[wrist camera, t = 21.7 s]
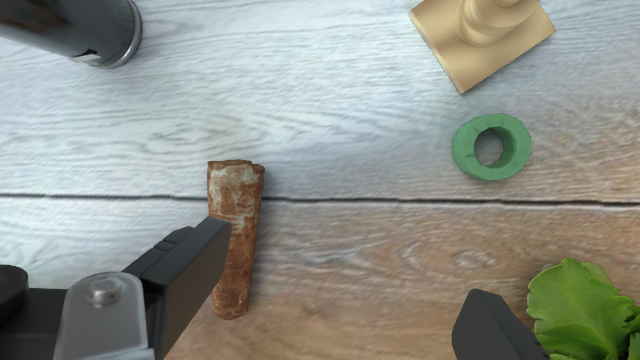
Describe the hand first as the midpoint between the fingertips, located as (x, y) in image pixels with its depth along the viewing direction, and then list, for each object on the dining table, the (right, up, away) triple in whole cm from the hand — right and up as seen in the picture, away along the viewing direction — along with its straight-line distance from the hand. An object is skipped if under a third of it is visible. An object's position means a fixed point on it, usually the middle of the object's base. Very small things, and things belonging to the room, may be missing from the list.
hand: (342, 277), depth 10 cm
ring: (+17, +7, +24) cm, 30 cm away
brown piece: (-10, -4, +28) cm, 30 cm away
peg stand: (+15, +19, +22) cm, 33 cm away
